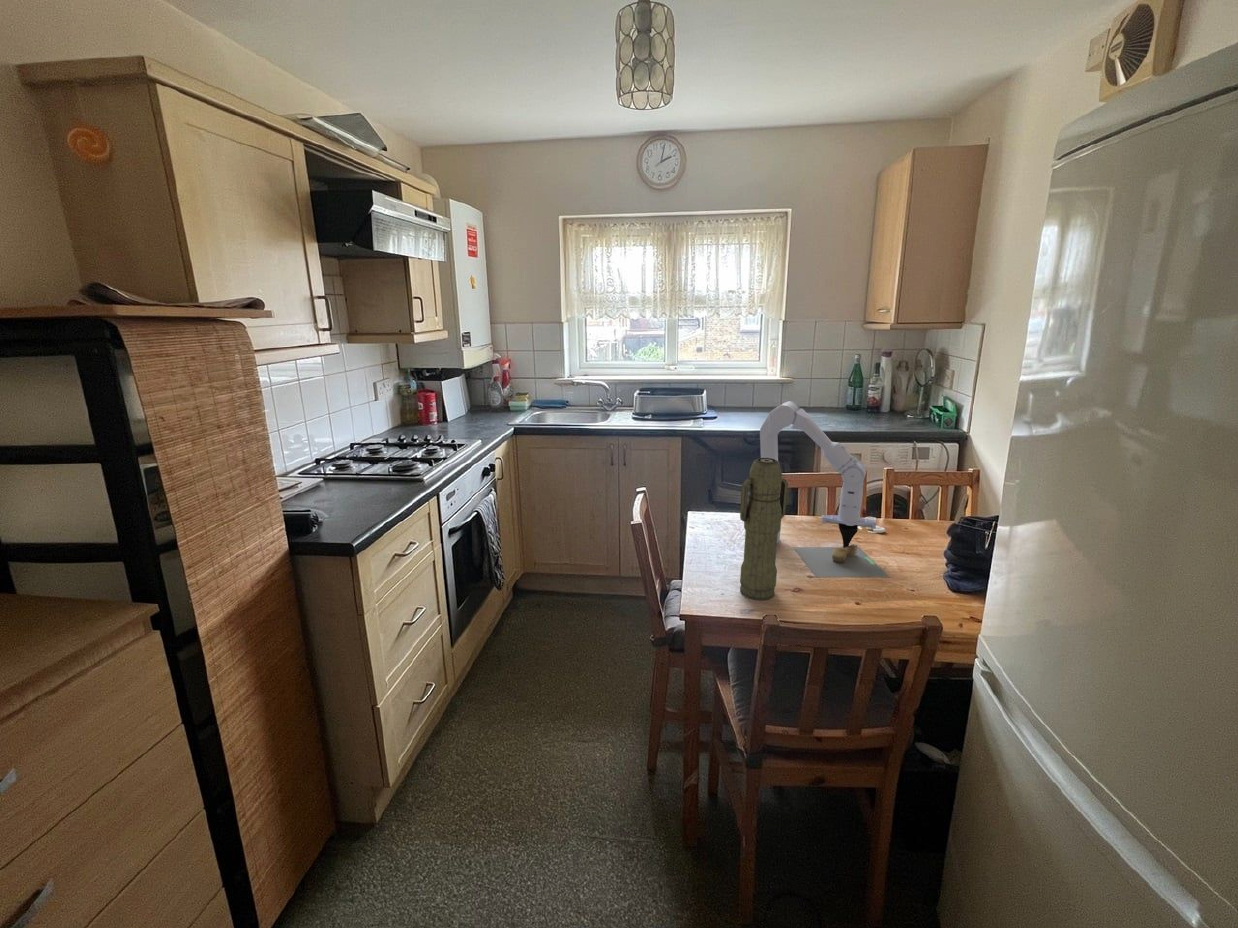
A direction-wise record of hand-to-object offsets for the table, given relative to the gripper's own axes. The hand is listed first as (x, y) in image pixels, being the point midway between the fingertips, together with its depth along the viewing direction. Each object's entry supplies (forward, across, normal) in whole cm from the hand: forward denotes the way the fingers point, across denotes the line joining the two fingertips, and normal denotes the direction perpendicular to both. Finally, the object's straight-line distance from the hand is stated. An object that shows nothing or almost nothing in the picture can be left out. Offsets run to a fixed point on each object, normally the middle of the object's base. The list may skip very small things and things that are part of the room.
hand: (845, 548), depth 167 cm
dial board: (+3, -2, -6) cm, 7 cm away
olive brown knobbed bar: (+1, 0, -4) cm, 4 cm away
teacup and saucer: (+4, +9, +24) cm, 26 cm away
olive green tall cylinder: (+3, -23, -29) cm, 38 cm away
